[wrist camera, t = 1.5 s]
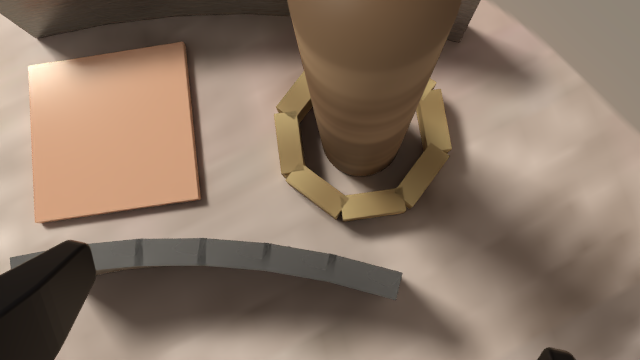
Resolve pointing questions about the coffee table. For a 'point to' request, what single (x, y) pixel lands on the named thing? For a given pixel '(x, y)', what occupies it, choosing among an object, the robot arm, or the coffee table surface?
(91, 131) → the tile
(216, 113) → the coffee table surface
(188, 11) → the gray curved bar
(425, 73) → the brown cylinder
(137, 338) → the coffee table surface
